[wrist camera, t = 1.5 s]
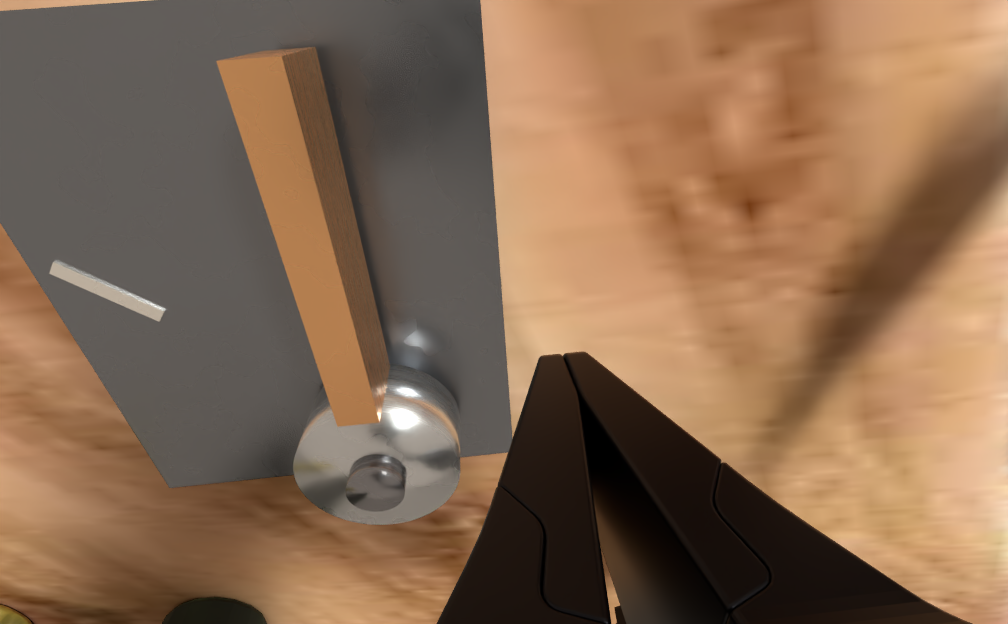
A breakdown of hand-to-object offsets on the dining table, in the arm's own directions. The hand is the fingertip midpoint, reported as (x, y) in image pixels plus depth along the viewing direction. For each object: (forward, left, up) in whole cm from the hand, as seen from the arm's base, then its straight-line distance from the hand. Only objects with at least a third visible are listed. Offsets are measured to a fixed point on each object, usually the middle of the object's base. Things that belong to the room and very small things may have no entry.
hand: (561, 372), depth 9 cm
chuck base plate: (-4, +10, -12) cm, 16 cm away
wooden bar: (-5, +7, -11) cm, 14 cm away
